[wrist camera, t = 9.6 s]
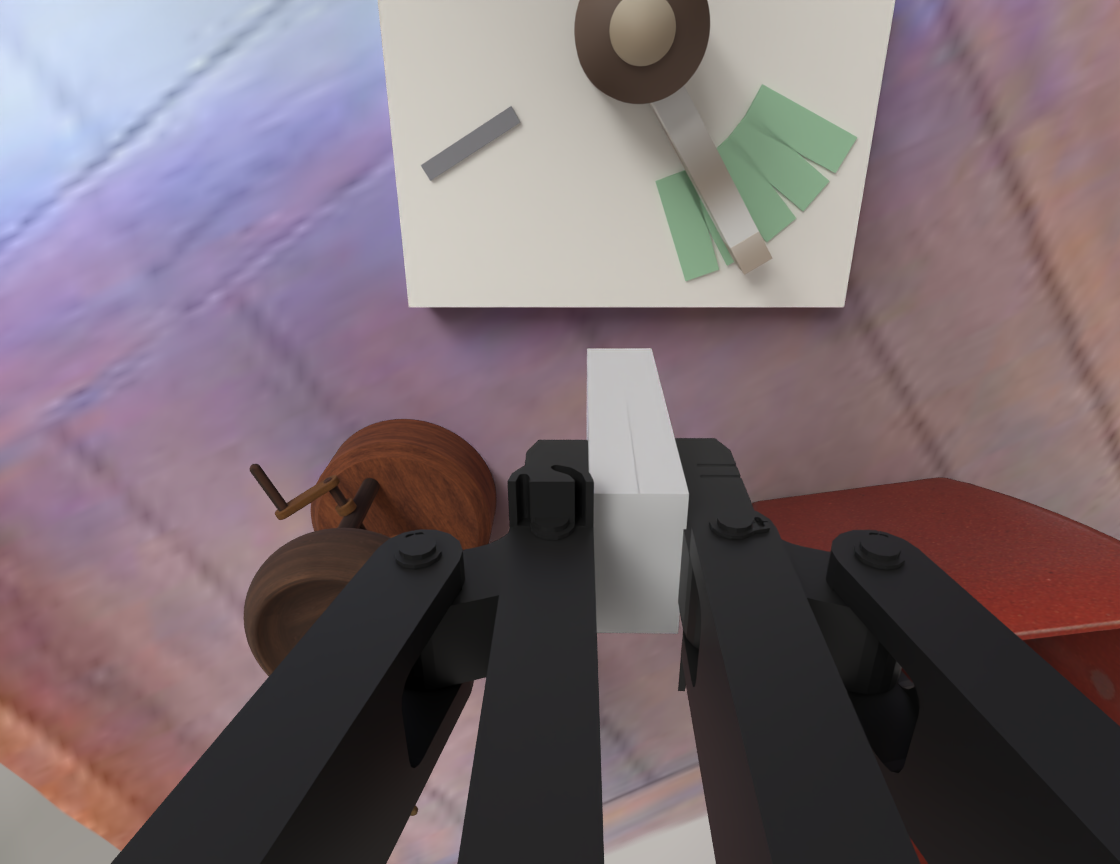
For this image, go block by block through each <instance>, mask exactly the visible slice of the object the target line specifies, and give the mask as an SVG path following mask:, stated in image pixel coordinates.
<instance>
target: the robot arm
mask: <svg viewBox="0 0 1120 864" xmlns="http://www.w3.org/2000/svg"><path fill="white" fill-rule="evenodd" d="M508 500H509V520H510V529H509V533H508V534H506V535H505V536H504V537H502V538H501V539H499V540H497V541H494V542H492V543H490V544H486V545H483V546H479V547H475V548H470V549H465V550H462V547H461V544H460V541H459V540H457V539H456V538H455V537H453V536H452V535H451V534H449V533H445V532H442V531H439V530H424V529H420V530H414V531H408V532H404V533H401V534H399V535H397V536H394V537H392V538H390V539H388V540H387V541H386V542H385V543H383V544H382V545H381V546H380V547H378V549H377V550H376V551H375V552H374V553H373V554H372V556H371V557H370V558H369V559H368V560H367V562H366V563H365V564H364V565H363V566H362V567H361V569H360V570H359V571H358V572H357V573H356V575H355V576H354V577H353V578H352V579H351V580H350V582H349V583H348V584H347V585H346V586H345V588H344V589H343V590H342V591H341V592H340V593H339V595H338V596H337V597H336V598H335V599H334V601H333V602H332V603H331V604H330V605H329V606H328V608H327V609H326V610H325V611H324V612H323V614H322V615H321V616H320V617H319V618H318V619H317V621H316V622H315V623H314V624H313V625H312V627H311V628H310V629H309V630H308V631H307V632H306V634H305V635H304V636H303V637H302V638H301V640H300V641H299V642H298V643H297V644H296V645H295V647H294V648H293V649H292V650H291V651H290V653H289V654H288V655H287V656H286V657H285V658H284V660H283V661H282V662H281V663H280V664H279V665H278V667H277V668H276V669H275V670H274V671H273V673H272V674H271V675H270V676H269V677H268V678H267V680H266V681H265V682H264V683H263V684H262V686H261V687H260V688H259V689H258V690H257V691H256V693H255V694H254V695H253V696H252V697H251V699H250V700H249V701H248V702H247V703H246V704H245V706H244V707H243V708H242V709H241V710H240V712H239V713H238V714H237V715H236V716H235V717H234V719H233V720H232V721H231V722H230V723H229V725H228V726H227V727H226V728H225V729H224V730H223V732H222V733H221V734H220V735H219V736H218V738H217V739H216V740H215V741H214V742H213V743H212V745H211V746H210V747H209V748H208V749H207V751H206V752H205V753H204V754H203V755H202V756H201V758H200V759H199V760H198V761H197V762H196V764H195V765H194V766H193V767H192V768H191V769H190V771H189V772H188V773H187V774H186V775H185V776H184V778H183V779H182V780H181V781H180V782H179V784H178V785H177V786H176V787H175V788H174V789H173V791H172V792H171V793H170V794H169V795H168V797H167V798H166V799H165V800H164V801H163V802H162V804H161V805H160V806H159V807H158V808H157V810H156V811H155V812H154V813H153V814H152V815H151V817H150V818H149V819H148V820H147V821H146V823H145V824H144V825H143V826H142V827H141V828H140V830H139V831H138V832H137V833H136V834H135V836H134V837H133V838H132V839H131V840H130V841H129V843H128V844H127V845H126V846H125V847H124V849H123V850H122V851H121V852H120V853H119V854H118V856H117V857H116V858H115V859H114V860H113V862H112V863H111V864H386V863H387V861H388V859H389V857H390V855H391V853H392V851H393V849H394V847H395V845H396V843H397V841H398V839H399V837H400V835H401V833H402V831H403V829H404V827H405V825H406V823H407V821H408V819H409V817H410V815H411V813H412V811H413V809H414V807H415V805H416V803H417V801H418V799H419V797H420V795H421V793H422V791H423V789H424V787H425V785H426V783H427V781H428V779H429V777H430V775H431V772H432V770H433V768H434V766H435V764H436V762H437V760H438V758H439V756H440V754H441V752H442V750H443V748H444V746H445V744H446V742H447V740H448V738H449V736H450V734H451V732H452V730H453V728H454V726H455V724H456V722H457V720H458V718H459V716H460V714H461V712H462V710H463V708H464V706H465V704H466V702H467V700H468V698H469V696H470V694H471V691H472V687H473V683H474V680H477V679H481V678H485V677H486V684H485V690H484V696H483V703H482V709H481V716H480V722H479V729H478V735H477V742H476V748H475V754H474V761H473V767H472V774H471V780H470V787H469V793H468V800H467V806H466V812H465V819H464V825H463V832H462V838H461V845H460V851H459V858H458V864H604V844H603V812H602V781H601V749H600V717H599V686H598V654H597V633H665V634H678V628H679V616H681V621H682V626H683V638H682V650H681V663H680V675H679V687H678V691H685V688H687V694H688V700H689V705H690V711H691V717H692V723H693V729H694V735H695V741H696V747H697V753H698V759H699V765H700V771H701V777H702V783H703V789H704V795H705V800H706V806H707V812H708V818H709V824H710V830H711V836H712V842H713V848H714V854H715V860H716V864H921V863H920V861H919V858H918V856H917V854H916V851H915V849H914V847H913V844H912V842H911V840H912V841H913V843H914V844H915V845H916V847H917V848H918V850H919V851H920V853H921V854H922V856H923V857H924V858H925V860H926V861H927V863H928V864H1120V726H1119V725H1118V724H1117V723H1116V722H1114V721H1113V720H1112V719H1111V718H1110V717H1109V716H1108V715H1107V714H1105V713H1104V712H1103V711H1102V710H1101V709H1100V708H1099V707H1097V706H1096V705H1095V704H1094V703H1093V702H1092V701H1091V700H1090V699H1088V698H1087V697H1086V696H1085V695H1084V694H1083V693H1082V692H1080V691H1079V690H1078V689H1077V688H1076V687H1075V686H1074V685H1073V684H1071V683H1070V682H1069V681H1068V680H1067V679H1066V678H1065V677H1063V676H1062V675H1061V674H1060V673H1059V672H1058V671H1057V670H1056V669H1054V668H1053V667H1052V666H1051V665H1050V664H1049V663H1048V662H1046V661H1045V660H1044V659H1043V658H1042V657H1041V656H1040V655H1039V654H1037V653H1036V652H1035V651H1034V650H1033V649H1032V648H1031V647H1029V646H1028V645H1027V644H1026V643H1025V642H1024V641H1023V640H1022V639H1020V638H1019V637H1018V636H1017V635H1016V634H1015V633H1014V632H1012V631H1011V630H1010V629H1009V628H1008V627H1007V626H1006V625H1005V624H1003V623H1002V622H1001V621H1000V620H999V619H998V618H997V617H995V616H994V615H993V614H992V613H991V612H990V611H989V610H988V609H986V608H985V607H984V606H983V605H982V604H981V603H980V602H978V601H977V600H976V599H975V598H974V597H973V596H972V595H971V594H969V593H968V592H967V591H966V590H965V589H964V588H963V587H961V586H960V585H959V584H958V583H957V582H956V581H955V580H954V579H952V578H951V577H950V576H949V575H948V574H947V573H946V572H944V571H943V570H942V569H941V568H940V567H939V566H938V565H937V564H935V563H934V562H933V561H932V560H931V559H930V558H929V557H927V556H926V555H925V554H924V553H923V552H922V551H921V550H920V549H918V548H917V547H915V546H914V545H912V544H911V543H909V542H908V541H906V540H905V539H902V538H900V537H897V536H894V535H892V534H890V533H887V532H883V531H877V530H851V531H848V532H844V533H841V534H839V535H838V536H837V537H836V538H835V539H834V540H833V541H832V546H831V551H830V552H829V551H824V550H818V549H813V548H808V547H804V546H800V545H796V544H792V543H790V542H787V541H785V540H782V539H781V537H780V534H779V532H778V530H777V528H776V526H775V525H774V524H773V522H772V521H771V520H770V519H769V518H767V517H766V516H764V515H763V514H761V513H759V512H758V511H754V508H753V506H752V503H751V501H750V498H749V496H748V493H747V491H746V488H745V486H744V483H743V481H742V478H740V473H739V471H738V468H737V467H736V463H735V461H734V458H733V456H732V453H731V451H730V450H729V449H728V448H727V447H725V446H724V445H723V444H722V443H720V442H719V441H718V440H717V439H715V438H674V434H673V430H672V426H671V422H670V418H669V415H668V411H667V407H666V403H665V399H664V395H663V391H662V388H661V384H660V380H659V376H658V372H657V368H656V364H655V360H654V357H653V353H652V349H651V348H632V349H587V440H538V441H537V442H536V443H535V444H534V445H533V446H532V447H531V448H530V449H529V450H528V451H527V453H526V460H525V466H523V467H521V468H520V469H518V470H517V471H515V472H514V473H512V475H511V476H510V478H509V480H508ZM902 668H903V669H904V670H905V671H906V673H907V674H908V675H909V677H910V678H911V680H912V681H913V682H911V681H910V680H909V679H908V678H907V676H906V675H905V674H904V673H903V672H902V671H901V669H902ZM910 838H911V840H910Z"/></svg>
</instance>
